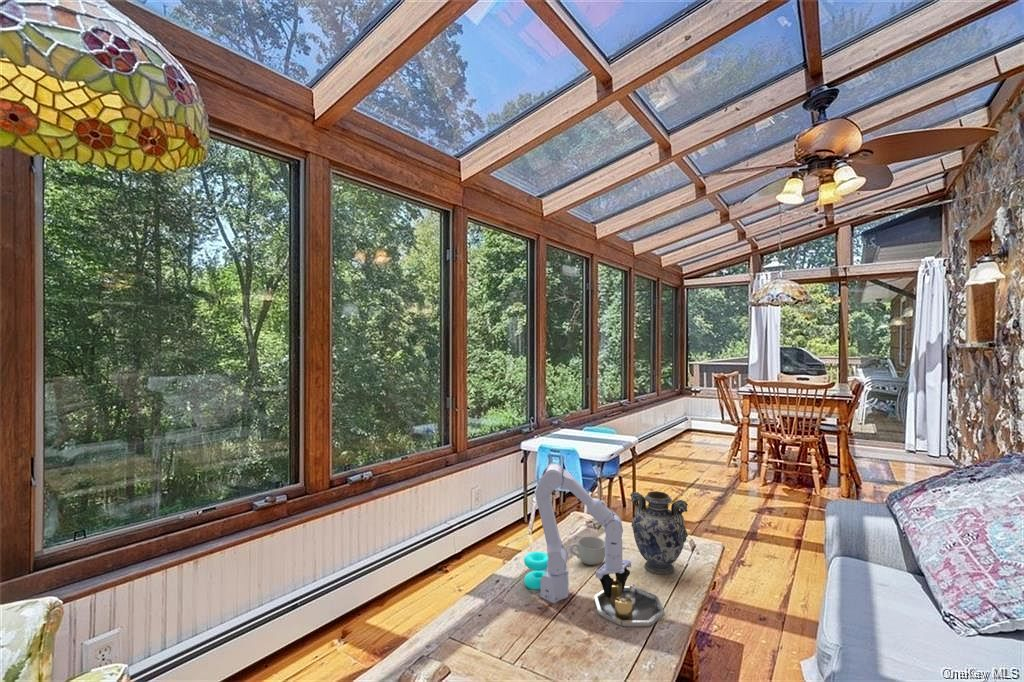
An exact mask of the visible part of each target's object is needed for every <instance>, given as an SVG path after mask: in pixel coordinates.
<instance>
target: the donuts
mask: <svg viewBox="0 0 1024 682" xmlns="http://www.w3.org/2000/svg"><path fill="white" fill-rule="evenodd" d="M523 562H524V565H525V567H526V568H527V569H528V570H532V571H529V572H528V573H527V574H526V575H524V580H523V581H524V582H523V583H524V585H525V586H526V587H527V588H528V589H530V590H534V589H535V590H541V583H540V582H541V578H542V577H543V576H544V575H545V574H546V572H547V563H548V555H547V553H546V552H543V551H532V552H530V553H527V554H526V555H525V557H524V559H523ZM545 570H546V571H545Z"/></svg>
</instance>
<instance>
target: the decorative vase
mask: <svg viewBox="0 0 1024 682" xmlns="http://www.w3.org/2000/svg"><path fill="white" fill-rule="evenodd" d="M629 496H630V499H631V500H630V503H631V502H632V503H633V504H634V505H635V508H634V516H633V519H632V522H631V528H632V532H633V537H634V540H635V543H636V547H637V549H638V551H639V553H640V555H641V556H642V558H644V560H646V561H645V563H644V568H645V569H646V570H647V572H649V573H651V574H655V575H661V576H663V575H664V576H665V575H671V574H672V573H674V571H675V568H674V565H673V563H674V562H676V561H677V560H678V558H679V557H680V556H681V553H682V551H683V548H684V545H685V543H686V542H687V537H689V533H688V531H687V529H686V526H685V518H684V516H683V513H684V512H685V513H687V512H688V505H689V504H688V503H687V501H686V500H683V499H678V500H675V501H672V497H670V495H669V494H667V493H666V492H662V491H650V492H648V493H647V494H646V495H645V496H644V495H643V494H641V493H639V492H638V491H634V492H633V491H632V492H631V493H630V494H629ZM647 503H648V504H647ZM670 503H671V507H670V506H669V504H670ZM669 507H670V508H671V509H669Z"/></svg>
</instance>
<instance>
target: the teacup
mask: <svg viewBox="0 0 1024 682" xmlns="http://www.w3.org/2000/svg"><path fill="white" fill-rule="evenodd" d="M574 547H576V549H577V552H576V551H574V550H573V548H574ZM569 551H570V553H571V554H572V555H574V556H575V557H577V558H578V559H580V561H581V562H582V563H584V565H587V566H593V567H594V566H598V565H600V564H602V562H603V561H605V539H602V538H600V537H597V536H593V535H586V536H582V537H580V538H578V540H577V542H573V543H571V544H570V545H569Z"/></svg>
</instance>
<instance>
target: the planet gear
mask: <svg viewBox="0 0 1024 682" xmlns="http://www.w3.org/2000/svg"><path fill="white" fill-rule="evenodd" d="M613 579H614V581H613V583H612V588H611V598H608V597H606V599H607V600H609V601H610V602H615V598H616V597H619V596H621V595H622V582H621V581H619V580H617V579H616V578H613Z"/></svg>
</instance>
